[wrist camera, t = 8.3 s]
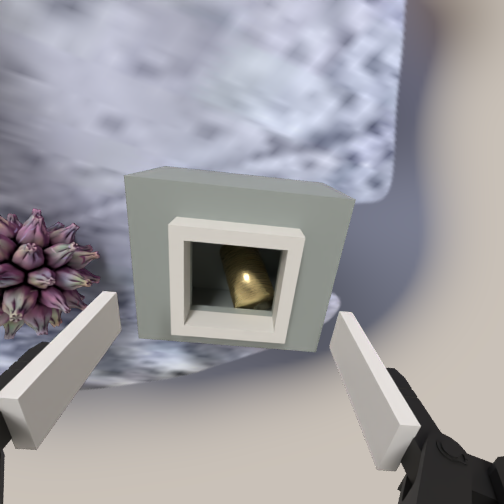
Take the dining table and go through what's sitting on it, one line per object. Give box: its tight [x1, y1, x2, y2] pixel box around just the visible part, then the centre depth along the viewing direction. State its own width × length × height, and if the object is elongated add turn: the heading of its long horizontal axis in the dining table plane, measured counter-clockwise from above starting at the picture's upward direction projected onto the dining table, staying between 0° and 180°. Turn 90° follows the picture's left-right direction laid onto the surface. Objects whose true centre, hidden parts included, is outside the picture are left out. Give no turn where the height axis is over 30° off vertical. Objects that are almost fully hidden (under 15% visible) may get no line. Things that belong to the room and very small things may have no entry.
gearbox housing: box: [124, 166, 355, 352], centre depth 23 cm, size 16×14×11 cm
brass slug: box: [220, 244, 274, 310], centre depth 25 cm, size 4×4×6 cm
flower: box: [0, 209, 100, 339], centre depth 23 cm, size 12×12×12 cm
